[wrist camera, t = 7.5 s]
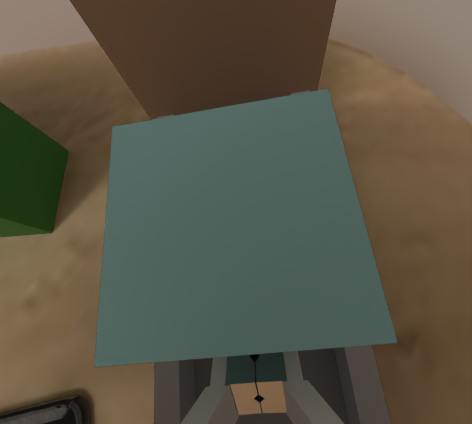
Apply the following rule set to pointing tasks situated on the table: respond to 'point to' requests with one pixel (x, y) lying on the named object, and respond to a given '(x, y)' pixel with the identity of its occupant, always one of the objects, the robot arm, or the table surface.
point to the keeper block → (235, 237)
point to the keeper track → (221, 95)
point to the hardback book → (28, 177)
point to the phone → (51, 412)
